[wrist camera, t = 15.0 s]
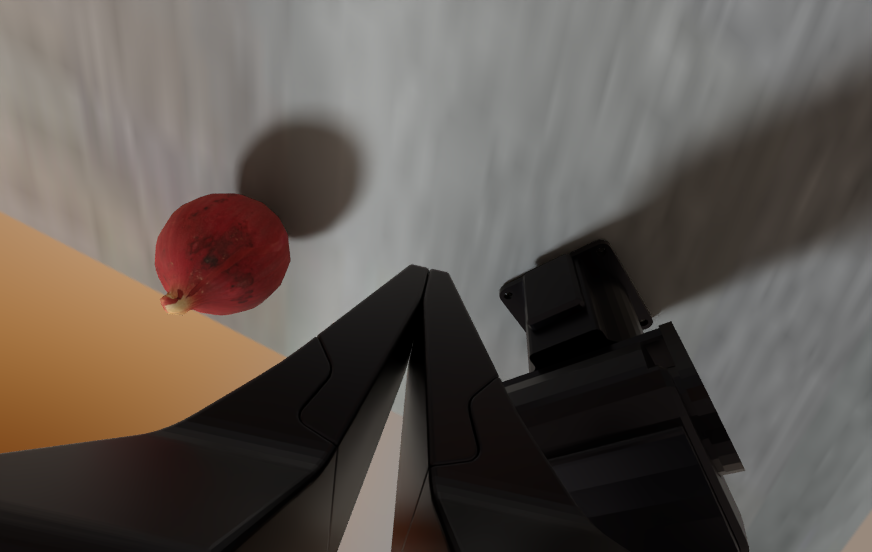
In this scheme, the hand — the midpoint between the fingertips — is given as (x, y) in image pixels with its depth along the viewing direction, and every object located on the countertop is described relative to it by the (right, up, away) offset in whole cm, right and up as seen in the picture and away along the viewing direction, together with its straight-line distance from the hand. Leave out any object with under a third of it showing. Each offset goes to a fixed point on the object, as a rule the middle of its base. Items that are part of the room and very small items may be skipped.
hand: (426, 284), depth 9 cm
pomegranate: (-10, +3, +15) cm, 18 cm away
